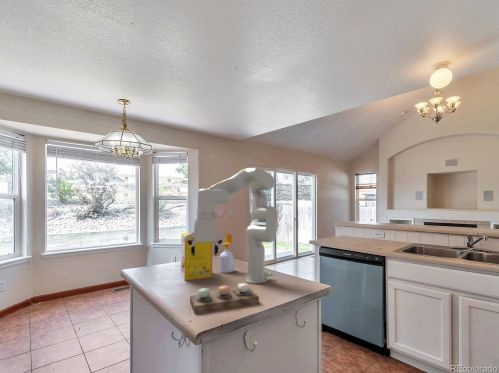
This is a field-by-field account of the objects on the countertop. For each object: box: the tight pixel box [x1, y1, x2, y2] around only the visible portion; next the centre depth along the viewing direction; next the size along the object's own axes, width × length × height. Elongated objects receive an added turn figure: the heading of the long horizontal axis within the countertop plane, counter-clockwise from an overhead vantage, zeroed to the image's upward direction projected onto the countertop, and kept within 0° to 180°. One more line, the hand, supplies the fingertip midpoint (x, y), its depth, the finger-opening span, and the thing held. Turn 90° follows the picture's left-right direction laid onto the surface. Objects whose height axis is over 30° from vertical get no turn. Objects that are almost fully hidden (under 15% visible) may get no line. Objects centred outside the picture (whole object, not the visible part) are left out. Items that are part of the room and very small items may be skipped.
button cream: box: [237, 282, 250, 292], centre depth 118 cm, size 5×5×2 cm
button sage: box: [197, 287, 210, 298], centre depth 111 cm, size 5×5×2 cm
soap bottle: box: [219, 232, 235, 274], centre depth 168 cm, size 9×9×25 cm
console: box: [189, 288, 260, 315], centre depth 114 cm, size 28×12×4 cm, turn 111°
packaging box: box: [180, 232, 213, 281], centre depth 159 cm, size 16×16×25 cm
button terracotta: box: [218, 285, 231, 295], centre depth 114 cm, size 5×5×2 cm
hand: (204, 255), depth 115 cm, fingers open, 9 cm apart
